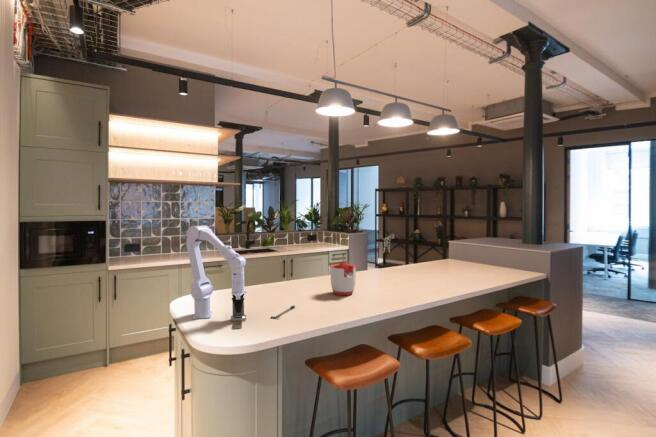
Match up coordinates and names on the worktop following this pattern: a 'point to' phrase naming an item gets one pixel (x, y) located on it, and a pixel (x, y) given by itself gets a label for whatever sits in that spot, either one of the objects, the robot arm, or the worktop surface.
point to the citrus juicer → (343, 278)
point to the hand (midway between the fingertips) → (238, 310)
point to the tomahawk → (283, 313)
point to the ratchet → (238, 321)
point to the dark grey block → (238, 313)
